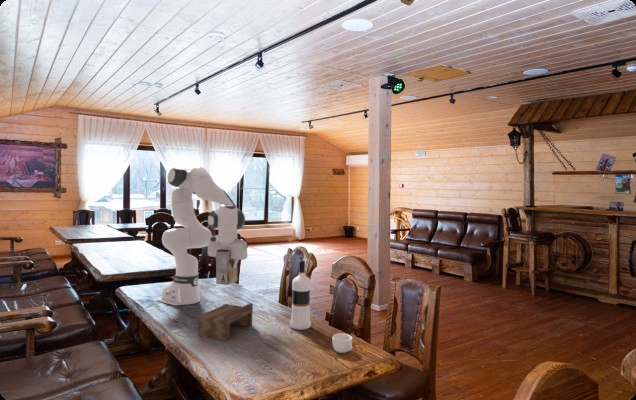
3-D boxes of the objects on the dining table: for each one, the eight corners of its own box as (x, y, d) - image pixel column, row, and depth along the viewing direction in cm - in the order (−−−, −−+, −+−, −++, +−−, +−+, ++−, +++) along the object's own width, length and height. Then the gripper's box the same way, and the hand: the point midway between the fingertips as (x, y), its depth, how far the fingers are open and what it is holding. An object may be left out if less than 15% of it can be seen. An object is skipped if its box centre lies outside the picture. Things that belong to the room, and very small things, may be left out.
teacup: (328, 349, 165) (328, 335, 164) (343, 345, 169) (344, 332, 169) (343, 358, 156) (343, 344, 156) (359, 354, 160) (360, 340, 160)
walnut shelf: (198, 335, 175) (198, 311, 174) (225, 321, 193) (225, 299, 193) (227, 341, 170) (227, 316, 169) (252, 325, 188) (252, 303, 188)
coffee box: (226, 279, 206) (227, 247, 206) (237, 281, 204) (238, 248, 203) (215, 283, 198) (216, 250, 197) (227, 285, 195) (227, 251, 195)
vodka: (286, 324, 191) (288, 259, 189) (305, 322, 195) (307, 258, 193) (294, 331, 182) (296, 263, 181) (314, 329, 186) (316, 261, 185)
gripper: (250, 239, 199) (249, 268, 200) (213, 236, 206) (213, 264, 207) (243, 240, 193) (242, 270, 194) (205, 237, 201) (205, 266, 201)
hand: (227, 267), depth 201 cm, fingers closed on coffee box, 6 cm apart
